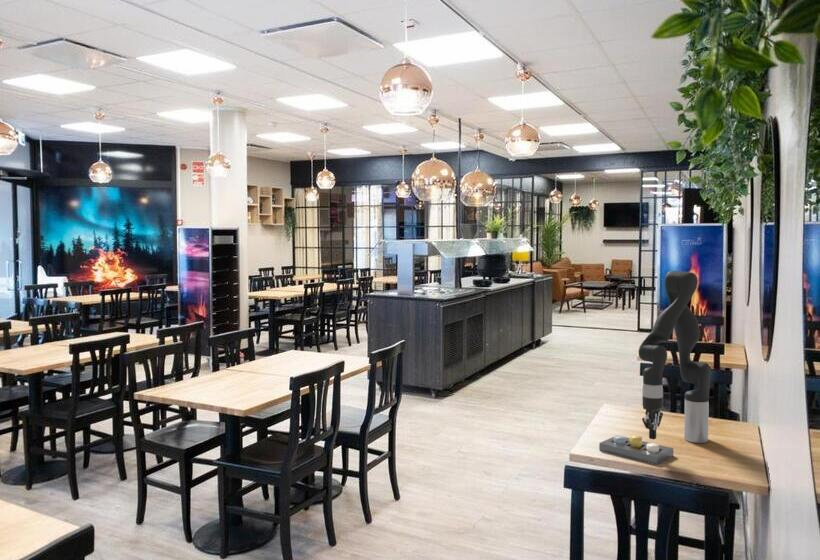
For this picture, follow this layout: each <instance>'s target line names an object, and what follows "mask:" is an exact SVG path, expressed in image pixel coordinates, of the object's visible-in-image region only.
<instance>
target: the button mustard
mask: <svg viewBox="0 0 820 560" xmlns="http://www.w3.org/2000/svg"><path fill="white" fill-rule="evenodd" d="M629 438H630V447H633V448H638V449H640V448H642V441H643V437H642V436H641V435H638V434H637V435H636V434H633V435H630V436H629Z"/></svg>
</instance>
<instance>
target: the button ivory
mask: <svg viewBox="0 0 820 560" xmlns="http://www.w3.org/2000/svg"><path fill="white" fill-rule="evenodd" d="M659 445H660V444H658V443H654V442H653V443H652V442H648V444H647V450H646V451H650V452H654V453H657V452H659Z"/></svg>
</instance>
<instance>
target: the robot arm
mask: <svg viewBox="0 0 820 560" xmlns="http://www.w3.org/2000/svg"><path fill="white" fill-rule="evenodd" d="M698 282H699V280H698V277H697V275H696V274H695V273H694V272H690V271H681V270H670V271H668V272H667V273H666V275H665V278H664V287H665V291H666V295H667V298H668V301H669V305H668V307H666V308H665V309H664V310H663V311H662V312H661V313H660V314H659V315H658V316H657V318H656V320H655V322H654V324H653V327H652V329H651V331H650V332H649V334H648V335H647V336H646V337H645V339H644V340H643V341H642V342H641V344H640V345H639V348H638V356H639V358H640V360H642V361H644V362H648V363H649V362H650V363H652V366H651V367H645V368H644V370H643V371H642V372H643V373H642V395H641V396H642V397H641V398H642V404H641V405H642V407H643V408H645V416H644V417H642V418H641V419H642V420H641V421H642V423H643V425H644V427H645V429H647V430H648V431H649V432H648V438H649V439H650V440H656V439H657V429H658V428H659V427H660V425H661V423H662V422H661V421H662V419H663V416H664V413H663V412H661V409H662V408H664V388H663V373H664V370H665V366H666V363H667V360H668V350H667V348H666V347H665V346H664V345H661V343H666V342H668V341H669V340H670V338H671V335H672V333H673V332H675V333H674V334H675V339H676V341H677V342H676V343H677V349H678V355H679V356H678V357H679V372H680V377H681V379H682V381H683V382H684V383H688V384H695V385H698V387H697V388H696V389H692V390H687V391H686V392H685V393H684V427H683V428H684V429H683V430H684V435H683V436H684V437H683V439H684V440H685V441H687V442H691V443H693V444H694V443H695V444H704V443H708V442H709V417H710V415H709V413H710V412H709V410H710V407H709V406H710V405H709V397H710V384H711V375H712V374H711V367H710V365H709V364H708V363H707V362H703V361H702V362H701V361H693V360H692V359H691V354H692V353H691V352H692V350H693V349H694V348H695V346H696V344H697V343H698V341H699V339H700V335H701V332H700V325H699V324H700V323H699V321H698V318H697V317H696V315H695V313H694V312H693V311H692V310H691V308H690V307H689V306H688V304H689V302H690V301H691V299H692V297H693V295H694V294H695V292H696V290H697V288H698V285H699V283H698Z"/></svg>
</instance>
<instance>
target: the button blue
mask: <svg viewBox="0 0 820 560" xmlns="http://www.w3.org/2000/svg"><path fill="white" fill-rule="evenodd" d="M613 437H614V443H617V444H621V445H623V444H625V443H626V438H625V437H626V436H624V435H618V436H616V435H614V436H613Z"/></svg>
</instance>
